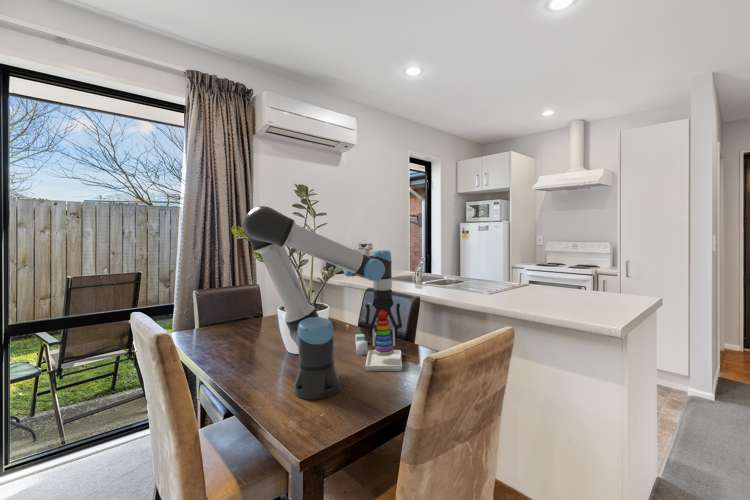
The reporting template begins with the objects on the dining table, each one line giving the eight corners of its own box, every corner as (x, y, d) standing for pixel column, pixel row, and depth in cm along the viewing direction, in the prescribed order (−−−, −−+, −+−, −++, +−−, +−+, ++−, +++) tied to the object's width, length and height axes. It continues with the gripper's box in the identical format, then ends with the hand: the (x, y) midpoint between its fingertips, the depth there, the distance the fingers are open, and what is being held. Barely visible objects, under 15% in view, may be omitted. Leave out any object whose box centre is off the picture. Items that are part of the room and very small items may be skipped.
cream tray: (365, 371, 135) (365, 365, 135) (368, 354, 153) (368, 350, 153) (402, 371, 134) (402, 365, 134) (400, 354, 152) (400, 350, 152)
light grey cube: (355, 355, 153) (355, 344, 152) (356, 351, 158) (356, 340, 157) (367, 355, 152) (366, 343, 152) (367, 351, 157) (367, 340, 157)
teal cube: (356, 345, 167) (356, 336, 167) (355, 342, 171) (355, 334, 170) (365, 344, 168) (364, 336, 167) (363, 342, 171) (363, 333, 171)
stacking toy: (394, 350, 147) (393, 305, 146) (393, 357, 139) (392, 310, 138) (375, 350, 148) (374, 305, 147) (373, 357, 140) (372, 310, 139)
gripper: (407, 286, 145) (408, 341, 147) (358, 287, 146) (359, 342, 147) (408, 289, 138) (409, 347, 139) (356, 290, 139) (358, 348, 140)
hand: (383, 344), depth 143 cm, fingers closed on stacking toy, 7 cm apart
